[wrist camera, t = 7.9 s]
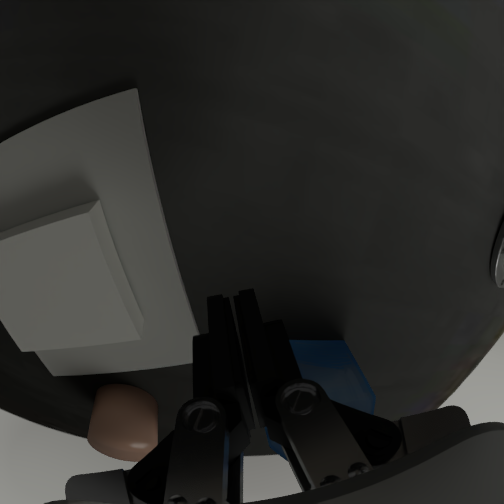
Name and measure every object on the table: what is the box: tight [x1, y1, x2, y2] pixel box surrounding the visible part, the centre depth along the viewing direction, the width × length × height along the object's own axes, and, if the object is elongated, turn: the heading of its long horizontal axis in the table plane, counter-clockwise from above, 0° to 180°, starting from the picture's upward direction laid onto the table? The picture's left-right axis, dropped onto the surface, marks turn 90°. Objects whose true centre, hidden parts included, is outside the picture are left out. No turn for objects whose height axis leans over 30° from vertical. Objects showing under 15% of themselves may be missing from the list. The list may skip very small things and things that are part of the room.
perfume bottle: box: [265, 340, 376, 461], centre depth 18 cm, size 6×6×12 cm
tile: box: [0, 200, 144, 352], centre depth 14 cm, size 2×8×10 cm
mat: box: [0, 88, 200, 376], centre depth 15 cm, size 14×18×1 cm
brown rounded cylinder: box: [87, 384, 158, 462], centre depth 20 cm, size 6×6×5 cm
